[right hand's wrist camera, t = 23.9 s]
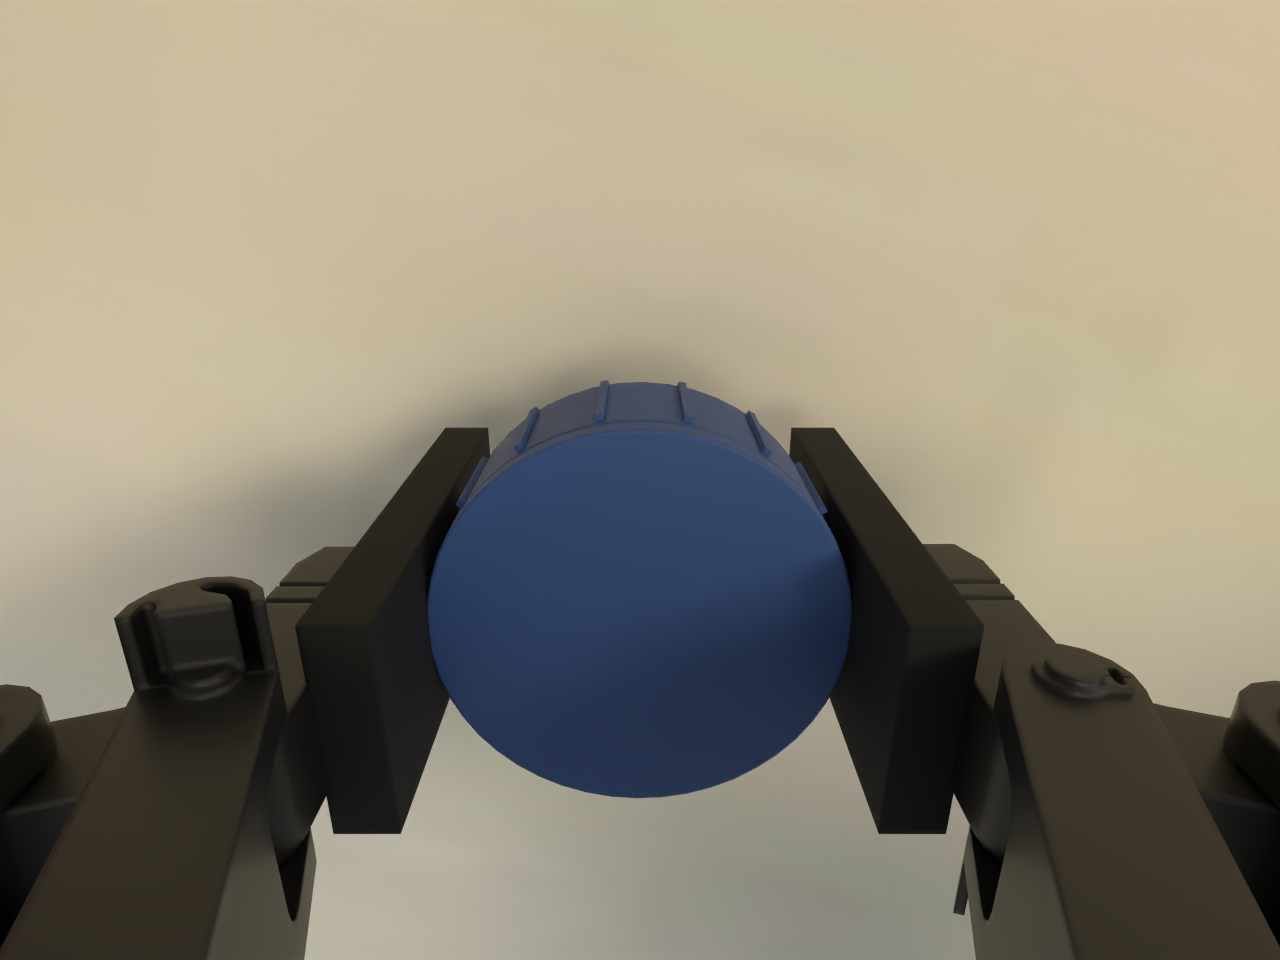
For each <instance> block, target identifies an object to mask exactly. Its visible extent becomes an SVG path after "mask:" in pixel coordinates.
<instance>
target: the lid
mask: <svg viewBox="0 0 1280 960" xmlns="http://www.w3.org/2000/svg"><path fill="white" fill-rule="evenodd" d="M456 506H457V507H459V508H461V509H460V510H459V512H458V514H457V516H456V518H455V520H454V522H453V524H452V525H451V527H450V529H449V531H448V533H447V535H446V537H445V540H444V542H443V544H442V546H441V548H440V550H439V552H438V554H437V557H436V561H435V564H434V567H433V571H432V574H431V578H430V583H429V590H428V598H427V613H428V623H429V632H430V640H431V649H432V656H433V659H434V662H435V665H436V668H437V671H438V674H439V677H440V679H441V681H442V683H443V685H444V687H445V689H446V691H447V693H448V695H449V697H450V698H451V700H452V701H453V703H454V704H455V706H456V707H457V709H458V710H459V712H460V713H461V715H462V716H463V717H464V718H465V720H466V721H467V722H468V723H469V724H470V725H471V726H472V728H473V729H474V730H475V731H476V732H477V733H478V734H479V735H480V736H481V737H482V738H483V739H484V740H485V741H487V742H488V743H489V744H490V745H491V746H492V747H493V748H494V749H496V750H497V751H498V752H500V753H501V754H502V755H504V756H505V757H507V758H508V759H510V760H511V761H513V762H514V763H515V764H517V765H519V766H521V767H523V768H524V769H526V770H528V771H530V772H532V773H534V774H536V775H538V776H540V777H542V778H545V779H547V780H550V781H552V782H555V783H557V784H560V785H562V786H566V787H569V788H573V789H576V790H580V791H584V792H588V793H594V794H599V795H605V796H612V797H627V798H652V797H666V796H673V795H680V794H687V793H691V792H695V791H699V790H703V789H707V788H711V787H713V786H716V785H719V784H722V783H724V782H727V781H730V780H733V779H735V778H737V777H739V776H741V775H743V774H745V773H747V772H749V771H751V770H753V769H755V768H757V767H759V766H760V765H762V764H763V763H765V762H766V761H768V760H769V759H771V758H773V757H774V756H776V755H777V754H778V753H780V752H781V751H782V750H783V749H784V748H786V747H787V746H788V745H789V744H790V743H792V742H793V741H794V740H795V739H796V738H797V737H798V736H799V735H800V734H801V733H802V732H803V731H804V730H805V729H806V728H807V727H808V726H809V725H810V724H811V722H812V721H813V720H814V719H815V717H816V716H817V715H818V713H819V712H820V710H821V709H822V708H823V706H824V705H825V704H826V702H827V700H828V698H829V697H830V695H831V693H832V691H833V689H834V687H835V685H836V684H837V682H838V679H839V677H840V674H841V671H842V668H843V666H844V663H845V660H846V657H847V651H848V643H849V635H850V626H851V616H852V596H851V585H850V581H849V577H848V573H847V569H846V565H845V562H844V559H843V557H842V554H841V552H840V550H839V547H838V545H837V542H836V540H835V538H834V536H833V534H832V532H831V530H830V529H829V527H828V525H827V523H826V521H825V519H824V517H823V514H824V513H826V512H827V509H826V508H825V506H824V504H823V502H822V501H821V499H820V497H819V495H818V493H817V492H816V490H815V488H814V486H813V484H812V483H811V481H810V479H809V477H808V475H807V474H806V472H805V470H804V468H803V466H802V465H801V463H800V462H797V463H796V464H794V463H793V461H792V460H791V458H790V456H789V455H788V454H787V453H786V451H785V450H784V449H783V448H782V446H781V445H780V444H779V443H778V442H777V440H776V439H775V438H774V437H773V436H772V435H771V434H770V433H768V432H767V431H766V430H765V429H764V428H763V427H762V426H761V425H760V424H759V422H758V420H757V418H756V416H755V414H754V413H752V412H751V411H748V412H747V414H745V413H743V412H742V411H740V410H739V409H737V408H735V407H733V406H731V405H729V404H727V403H725V402H723V401H722V400H720V399H718V398H715V397H713V396H710V395H707V394H704V393H701V392H698V391H696V390H693V389H688V388H687V387H686V383H683V382H678V386H674V385H669V384H659V383H647V382H637V383H617V384H611V385H609V382H608V380H607V381H601V383H600V387H594V388H591V389H588V390H584V391H581V392H578V393H575V394H572V395H569V396H567V397H564V398H562V399H560V400H558V401H556V402H554V403H551V404H549V405H547V406H546V407H544V408H543V409H541V410H538V408H537V407H535V408H533V409H531V410H530V412H529V414H528V417H527V419H526V420H525V421H523V422H522V423H521V424H520V425H519V426H517V427H516V428H515V429H514V430H513V431H512V432H510V433H509V434H508V435H507V436H506V438H505V439H504V440H503V441H502V442H501V443H500V444H499V445H498V447H497V448H496V449H495V450H494V451H493V453H492V454H491V456H490V457H489V459H488V458H486V457H484V456H483V457H482V459H481V460H480V462H479V464H478V466H477V467H476V469H475V471H474V473H473V475H472V476H471V478H470V480H469V482H468V484H467V485H466V487H465V489H464V491H463V493H462V495H461V496H460V498H459V500H458V502H457V504H456Z"/></svg>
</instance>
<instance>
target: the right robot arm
mask: <svg viewBox="0 0 1280 960" xmlns="http://www.w3.org/2000/svg"><path fill="white" fill-rule="evenodd" d="M483 456H484V457H486V458H488V459H489V457H490V448H489V435H488V428H445V429H444V431H443V432H442V433H441V434H440V436H439V437H438V438H437V440H436V441H435V442H434V444H433V445H432V446H431V448H430V449H429V450H428V452H427V453H426V454H425V455H424V457H423V458H422V459H421V461H420V462H419V463H418V465H417V466H416V467H415V469H414V470H413V471H412V473H411V474H410V475H409V476H408V478H407V479H406V480H405V482H404V483H403V484H402V486H401V487H400V488H399V490H398V491H397V492H396V494H395V495H394V496H393V498H392V499H391V500H390V501H389V503H388V504H387V505H386V507H385V508H384V509H383V511H382V512H381V513H380V515H379V516H378V517H377V519H376V520H375V521H374V522H373V524H372V525H371V526H370V528H369V529H368V530H367V532H366V533H365V534H364V536H363V537H362V538H361V540H360V541H359V542H358V543H357V545H356V546H355V547H324V548H323V549H321V550H319V551H318V552H316V553H314V554H312V555H311V556H309V557H307V558H305V559H304V560H302V561H300V562H298V563H297V564H296V565H295V566H294V567H293V568H292V569H291V571H290V572H289V573H288V574H287V575H286V576H285V577H284V579H283V580H282V581H281V582H280V587H276V588H275V589H274V590H273V591H272V592H271V593H270V595H269V596H268V597H267V598H266V602H265V597H264V592H263V588H262V587H260V586H259V585H257V584H256V583H254V582H253V581H252V580H247V579H242V578H237V577H206V578H201V579H195V580H190V581H185V582H180V583H176V584H173V585H170V586H168V587H165V588H162V589H159V590H156V591H153V592H150V593H149V594H147V595H145V596H143V597H141V598H140V599H138V600H136V601H134V602H132V603H130V604H129V605H127V606H126V607H125V608H124V609H123V610H122V611H121V612H120V613H119V614H118V615H117V616H116V617H115V618H114V620H115V624H116V627H117V631H118V634H119V638H120V641H121V645H122V648H123V652H124V655H125V659H126V662H127V666H128V670H129V673H130V677H131V680H132V684H133V687H134V692H133V694H132V696H131V698H130V700H129V702H128V704H127V706H126V707H124V708H120V709H116V710H111V711H106V712H101V713H95V714H90V715H85V716H80V717H74V718H69V719H64V720H58V721H53V722H50V720H49V717H48V714H47V711H46V708H45V705H44V702H43V699H42V696H41V695H40V694H38V693H37V692H35V691H34V690H33V689H31V688H30V687H24V686H15V685H0V960H304V957H305V949H306V941H307V933H308V925H309V917H310V909H311V901H312V893H313V885H314V877H315V869H316V855H315V849H314V843H313V838H312V833H311V828H310V827H311V825H312V823H313V821H314V819H315V817H316V815H317V813H318V811H319V809H320V807H321V805H322V803H323V801H324V799H325V797H326V796H327V801H328V806H329V812H330V817H331V822H332V828H333V833H334V834H401V831H402V829H403V826H404V823H405V820H406V818H407V815H408V812H409V809H410V806H411V804H412V801H413V798H414V795H415V793H416V790H417V787H418V784H419V782H420V779H421V776H422V773H423V770H424V768H425V765H426V762H427V759H428V757H429V754H430V751H431V748H432V746H433V743H434V740H435V737H436V735H437V732H438V729H439V726H440V723H441V721H442V718H443V715H444V712H445V710H446V707H447V704H448V701H449V699H450V697H449V695H448V693H447V691H446V689H445V687H444V685H443V683H442V681H441V679H440V677H439V674H438V671H437V668H436V665H435V662H434V659H433V656H432V649H431V640H430V632H429V623H428V613H427V598H428V590H429V583H430V578H431V574H432V571H433V567H434V564H435V561H436V557H437V554H438V552H439V550H440V548H441V546H442V544H443V542H444V540H445V537H446V535H447V533H448V531H449V529H450V527H451V525H452V524H453V522H454V520H455V518H456V516H457V514H458V512H459V510H460V509H461V508H459V507H457V506H456V504H457V502H458V500H459V498H460V496H461V495H462V493H463V491H464V489H465V487H466V485H467V484H468V482H469V480H470V478H471V476H472V475H473V473H474V471H475V469H476V467H477V466H478V464H479V462H480V460H481V459H482V457H483ZM789 456H790V458H791V460H792V461H793V463H794V464H796V463H797V462H800V463H801V465H802V466H803V468H804V470H805V472H806V474H807V475H808V477H809V479H810V481H811V483H812V484H813V486H814V488H815V490H816V492H817V493H818V495H819V497H820V499H821V501H822V502H823V504H824V506H825V508H826V509H827V512H826V513H824V514H823V517H824V519H825V521H826V523H827V525H828V527H829V529H830V530H831V532H832V534H833V536H834V538H835V540H836V542H837V545H838V547H839V550H840V552H841V554H842V557H843V559H844V562H845V565H846V569H847V573H848V577H849V581H850V585H851V596H852V616H851V626H850V635H849V643H848V651H847V657H846V660H845V663H844V666H843V668H842V671H841V674H840V677H839V679H838V682H837V684H836V685H835V687H834V689H833V691H832V693H831V695H830V700H831V703H832V705H833V708H834V711H835V714H836V717H837V719H838V722H839V725H840V728H841V730H842V733H843V736H844V739H845V741H846V744H847V747H848V750H849V752H850V755H851V758H852V761H853V764H854V766H855V769H856V772H857V775H858V777H859V780H860V783H861V786H862V788H863V791H864V794H865V797H866V800H867V802H868V805H869V808H870V811H871V813H872V816H873V819H874V822H875V824H876V827H877V830H878V833H879V834H946V830H947V825H948V820H949V814H950V809H951V803H952V798H953V793H954V794H955V796H956V798H957V800H958V802H959V804H960V806H961V808H962V810H963V812H964V814H965V816H966V818H967V820H968V822H969V824H970V828H969V833H968V838H967V843H966V848H965V853H964V858H963V863H962V868H961V873H960V878H959V883H958V888H957V893H956V898H955V905H954V911H953V913H956V914H961V915H964V913H965V908H966V903H967V899H969V907H970V915H971V923H972V931H973V939H974V947H975V955H976V960H1280V681H1268V682H1259V683H1251V684H1250V685H1248V686H1247V687H1245V688H1244V689H1242V690H1241V691H1240V692H1239V694H1238V697H1237V700H1236V703H1235V706H1234V709H1233V712H1232V715H1231V718H1225V717H1220V716H1214V715H1209V714H1204V713H1198V712H1193V711H1188V710H1182V709H1177V708H1172V707H1166V706H1162V705H1158V704H1154V703H1153V702H1152V701H1151V699H1150V697H1149V695H1148V693H1147V691H1146V689H1145V688H1144V687H1143V686H1142V685H1141V683H1140V682H1139V681H1138V680H1137V679H1136V677H1135V676H1134V675H1133V674H1132V673H1130V672H1129V671H1127V670H1126V669H1124V668H1122V667H1121V666H1119V665H1118V664H1116V663H1115V662H1113V661H1112V660H1109V659H1107V658H1105V657H1102V656H1100V655H1097V654H1095V653H1092V652H1090V651H1087V650H1085V649H1080V648H1076V647H1071V646H1067V645H1063V644H1056V643H1055V641H1054V640H1053V639H1052V638H1051V637H1050V636H1049V635H1048V633H1047V632H1046V631H1045V630H1044V629H1043V628H1042V627H1041V626H1040V624H1039V623H1038V622H1037V621H1036V620H1035V619H1034V618H1033V617H1032V615H1031V614H1030V613H1029V612H1028V611H1027V610H1026V609H1025V607H1024V606H1023V605H1022V604H1021V603H1020V602H1019V601H1018V600H1015V599H1014V595H1013V594H1012V593H1011V592H1010V591H1009V589H1008V588H1007V587H1006V586H1005V585H1004V584H1000V579H999V578H998V577H997V576H996V575H995V574H994V572H993V571H992V570H991V569H990V568H989V567H988V566H987V565H986V563H985V562H984V561H983V560H981V559H979V558H978V557H976V556H974V555H972V554H970V553H969V552H967V551H965V550H963V549H962V548H960V547H958V546H956V545H955V544H922V543H921V542H920V540H919V539H918V538H917V536H916V535H915V534H914V532H913V531H912V530H911V528H910V527H909V526H908V524H907V523H906V522H905V521H904V519H903V518H902V517H901V515H900V514H899V513H898V511H897V510H896V509H895V507H894V506H893V505H892V503H891V502H890V501H889V500H888V498H887V497H886V496H885V494H884V493H883V492H882V490H881V489H880V488H879V486H878V485H877V484H876V482H875V481H874V480H873V478H872V477H871V476H870V475H869V473H868V472H867V471H866V469H865V468H864V467H863V465H862V464H861V463H860V461H859V460H858V459H857V457H856V456H855V455H854V454H853V452H852V451H851V450H850V448H849V447H848V446H847V444H846V443H845V442H844V440H843V439H842V438H841V436H840V435H839V434H838V432H837V431H836V430H835V429H834V428H791V441H790V455H789Z"/></svg>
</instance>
